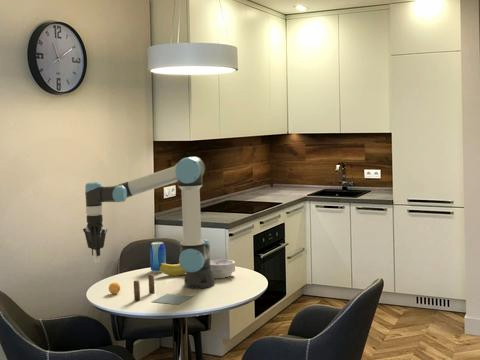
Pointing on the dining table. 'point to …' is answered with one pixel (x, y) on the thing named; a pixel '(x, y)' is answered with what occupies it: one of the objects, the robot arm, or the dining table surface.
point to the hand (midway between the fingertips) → (96, 262)
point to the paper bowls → (222, 268)
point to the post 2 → (151, 283)
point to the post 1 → (136, 291)
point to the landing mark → (172, 299)
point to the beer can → (157, 256)
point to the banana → (172, 269)
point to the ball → (114, 288)
